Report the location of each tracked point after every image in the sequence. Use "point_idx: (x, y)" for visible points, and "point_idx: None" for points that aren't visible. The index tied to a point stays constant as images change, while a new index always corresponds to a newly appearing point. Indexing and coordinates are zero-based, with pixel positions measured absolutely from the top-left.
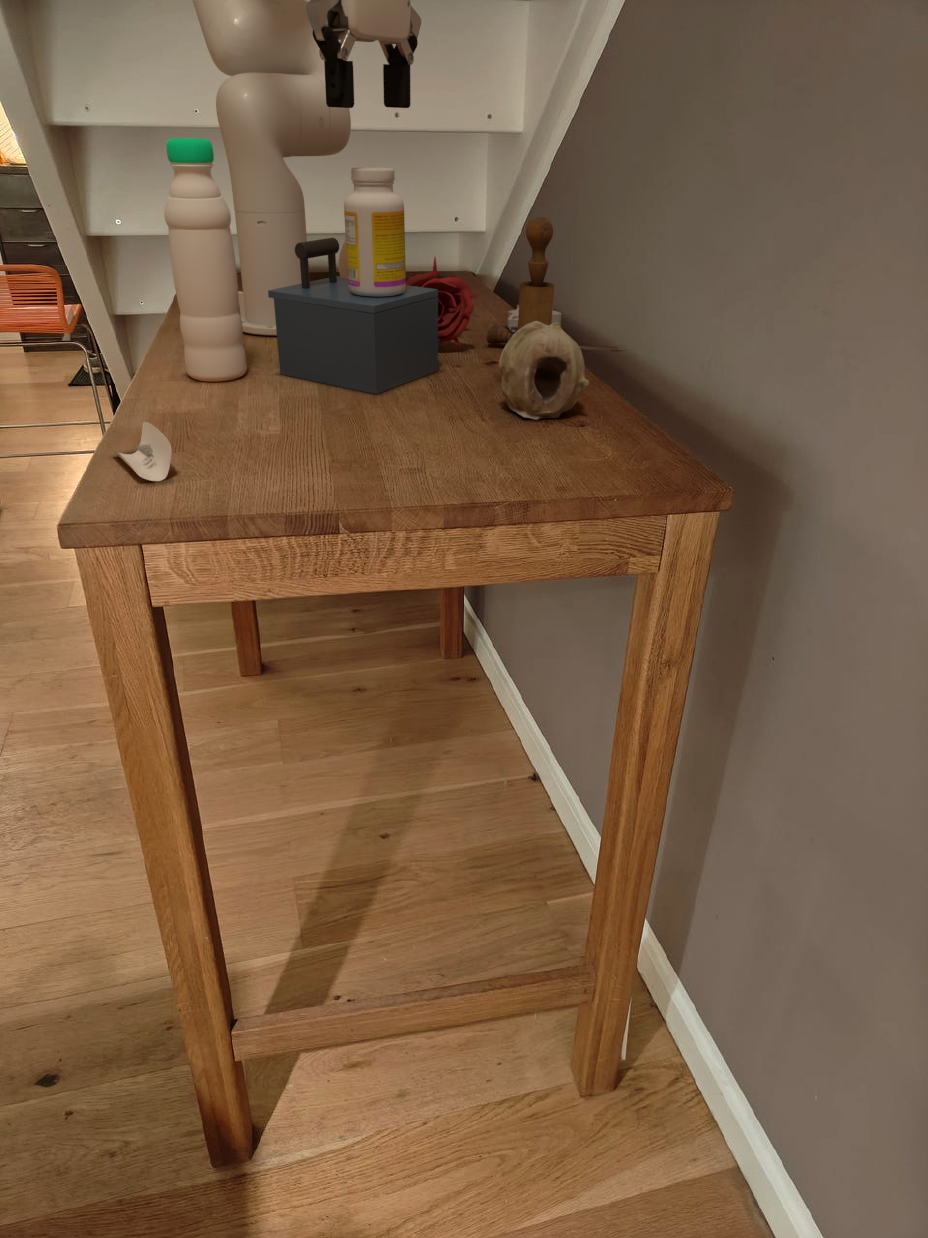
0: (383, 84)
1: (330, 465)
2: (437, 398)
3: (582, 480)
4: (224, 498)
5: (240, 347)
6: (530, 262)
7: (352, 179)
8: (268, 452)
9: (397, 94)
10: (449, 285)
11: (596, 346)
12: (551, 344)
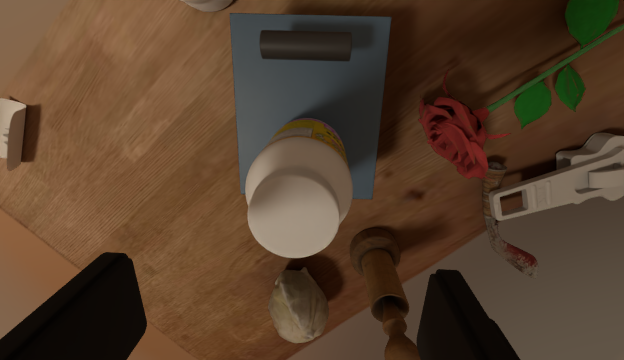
0: (459, 325)
1: (118, 228)
2: None
3: (203, 341)
4: (38, 210)
5: (210, 2)
6: (385, 323)
7: (257, 186)
8: (103, 181)
9: (431, 350)
10: (470, 157)
11: (519, 253)
12: (280, 335)
